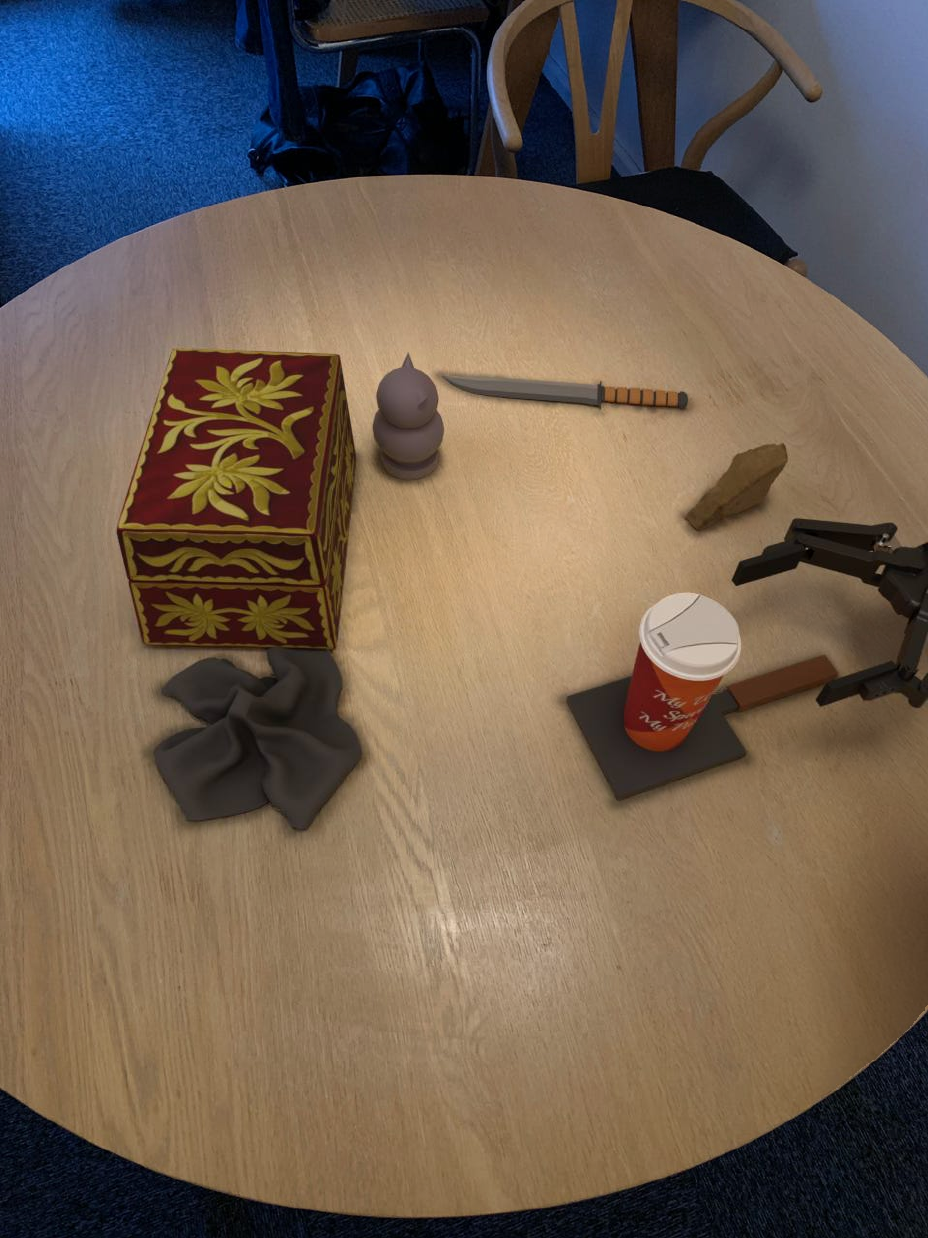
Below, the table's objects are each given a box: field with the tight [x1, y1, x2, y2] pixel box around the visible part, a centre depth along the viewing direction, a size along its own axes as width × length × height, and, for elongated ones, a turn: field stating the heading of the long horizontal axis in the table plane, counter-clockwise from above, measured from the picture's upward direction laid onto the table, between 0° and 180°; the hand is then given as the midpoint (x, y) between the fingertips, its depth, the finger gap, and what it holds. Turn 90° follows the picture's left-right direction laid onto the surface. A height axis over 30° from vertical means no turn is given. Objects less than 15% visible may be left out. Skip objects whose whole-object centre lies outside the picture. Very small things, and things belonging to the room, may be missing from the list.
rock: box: [685, 442, 789, 531], centre depth 102 cm, size 11×9×10 cm
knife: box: [441, 374, 689, 410], centre depth 114 cm, size 30×1×5 cm
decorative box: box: [116, 348, 357, 650], centre depth 92 cm, size 28×19×15 cm
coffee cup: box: [623, 592, 742, 752], centre depth 80 cm, size 8×8×15 cm
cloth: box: [153, 647, 363, 830], centre depth 83 cm, size 22×19×6 cm
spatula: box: [566, 654, 840, 801], centre depth 88 cm, size 11×26×1 cm, turn 111°
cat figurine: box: [372, 352, 445, 481], centre depth 102 cm, size 8×8×12 cm
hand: (778, 631), depth 80 cm, fingers open, 13 cm apart
